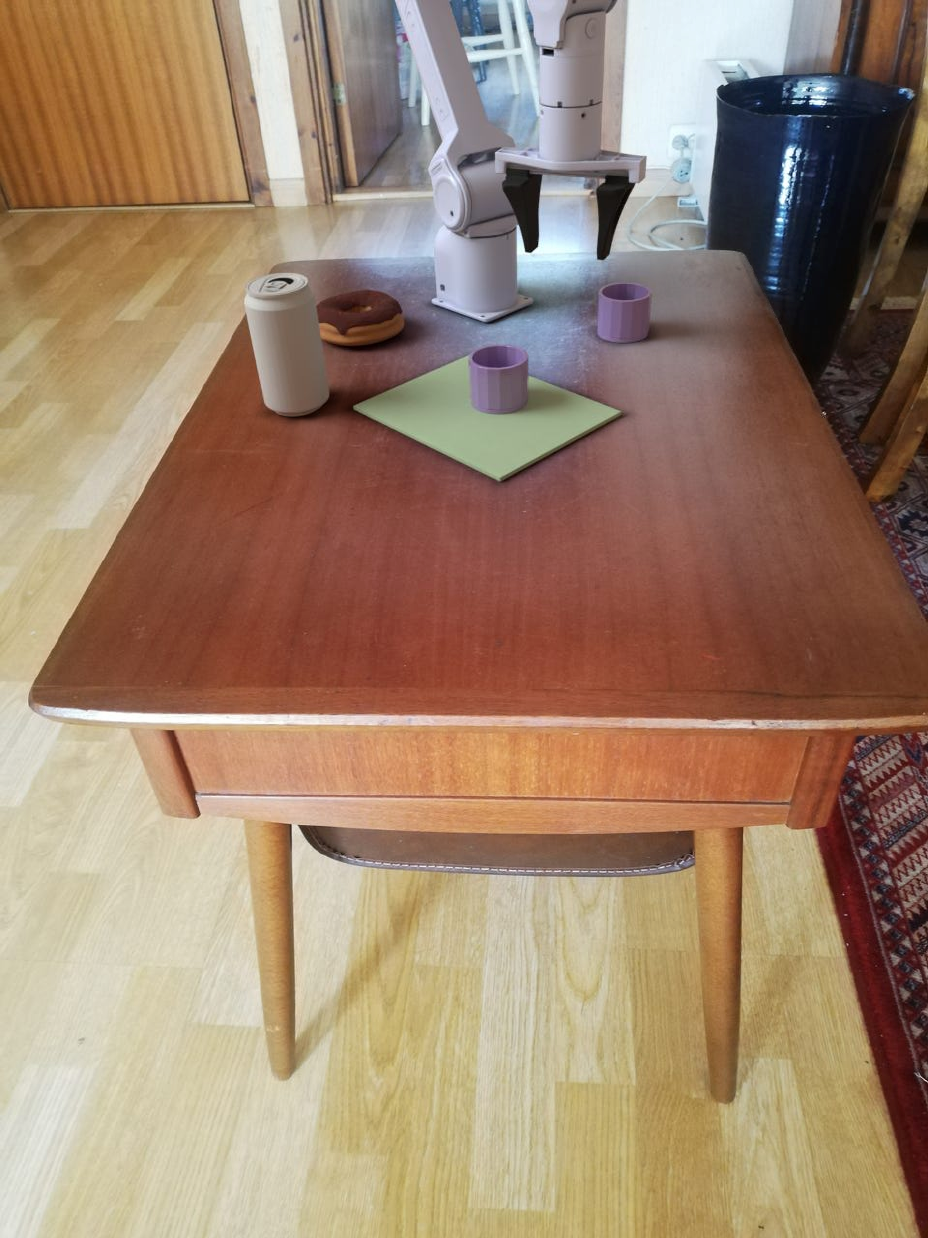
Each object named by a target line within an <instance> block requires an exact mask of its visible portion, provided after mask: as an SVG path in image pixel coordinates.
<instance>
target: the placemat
mask: <svg viewBox="0 0 928 1238" xmlns="http://www.w3.org/2000/svg"><path fill="white" fill-rule="evenodd" d="M469 355H470V354H468V355H466V356H463V357H461V358H459V359H456V360H454V361H452V362H450V363H447V364H445V365H443V366H440V367H438V368H436V369H433V370H432V371H429V372H426V373H425V374H422V375H420V376H418V377H415V378H413V379H411V380H409V381H407V382H405V383H402V384H400V385H398V386H396V387H393V388H391V389H389V390H386V391H384V392H382V393H380V394H377V395H375V396H372V397H370V398H368V399H366V400H364V401H361V402H359V403H357V404H355V405H353V407H352V408H353V410H354V411H356V412H358V413H360V414H361V415H364V416H366V417H368V418H370V419H371V420H374V421H376V422H378V423H380V424H381V425H384V426H386V427H388V428H390V429H392V430H394V431H397V432H398V433H401V434H402V435H404V436H407V437H409V438H411V439H413V440H414V441H416V442H419V443H420V444H423V445H425V446H427V447H429V448H430V449H432V450H434V451H437V452H439V453H441V454H443V455H445V456H447V457H449V458H450V459H453V460H455V461H457V462H459V463H461V464H463V465H465V466H467V467H469V468H471V469H473V470H475V471H478V472H479V473H481V474H483V475H486V476H487V477H490V478H491V479H493V480H495V481H497V482H499V483H500V482H503V481H505V480H506V479H508V478H510V477H512V476H513V475H515V474H517V473H518V472H521V471H522V470H524V469H527V468H528V467H529V466H531V465H533V464H535V463H537V462H539V461H540V460H542V459H544V458H546V457H548V456H549V455H551V454H554V452H555V453H556V452H557V451H559V450H561V449H563V448H565V446H567V445H570V444H571V443H573V442H575V441H576V440H578V439H580V438H582V437H584V436H586V435H588V434H589V433H591V432H593V431H596V430H598V429H599V428H601V427H603V426H604V425H606V424H608V423H609V422H611V421H613V420H615V419H617V418H619V417H620V416H622V411H621V410H619V409H616V408H614V407H611V406H608V405H606V404H603V403H601V402H598V401H596V400H593V399H591V398H587V397H586V396H582V395H580V394H578V393H575V392H572V391H570V390H567V389H565V388H562V387H559V386H557V385H554V384H552V383H549V382H546V381H544V380H541V379H540V378H537V377H534V376H531V375H529V374H528V379H529V395H528V403H527V404H526V406H525V407H523V408H522V409H520V410H518V411H515V412H512V413H507V414H488V413H483V412H480V411H478V410H476V409H475V408H474V407H473V406H472V405H471V399H470V387H469V366H468V357H469Z"/></svg>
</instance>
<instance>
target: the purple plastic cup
mask: <svg viewBox="0 0 928 1238" xmlns="http://www.w3.org/2000/svg"><path fill="white" fill-rule="evenodd" d="M468 355H469V357H468V366H469V387H470V399H471V405H472V406H473V407H474V408H475V409H476V410H478V411H480V412H483V413H488V414H507V413H512V412H515V411H518V410H520V409H522V408H523V407H525V406H526V404H527V403H528V395H529V379H528V375H529V354H528V352H527V350H525V349H523V348H521V347H519V346H516V345H511V344H499V343H498V344H489V345H484V346H481V347H478V348H476V349H474V350H473V351H471V352H470V353H469V354H468Z"/></svg>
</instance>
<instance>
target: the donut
mask: <svg viewBox="0 0 928 1238" xmlns="http://www.w3.org/2000/svg"><path fill="white" fill-rule="evenodd" d="M316 308H317V315H318V321H319V328H320V334H321V341H325V342H327V343H329V344H333V345H338V346H344V347H345V346H346V347H360V346H368V345H373V344H378V343H381V342H384V341H387V340H389V339H392V338H395V336H396V335H398V334H399V333H400V332H401V331H402V330H403V329H404V327H405V318H404V317H403V315H402V314H403V309H402V306H401V304H400V303H399V301H398V300H396V298H394V297H392V295H389V294H388V293H385V292H383V291H380V290H374V289H360V290H355V291H350V292H346V293H341V294H338V295H333V296H331V297H328V298H327V297H326V298H325V299H322V300H321V301H320V302H319V303H317V304H316Z"/></svg>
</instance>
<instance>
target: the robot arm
mask: <svg viewBox="0 0 928 1238" xmlns="http://www.w3.org/2000/svg"><path fill="white" fill-rule="evenodd" d="M394 2H395V5H396V8H397V11H398V14H399V17H400V21H401V23H402V26H403V29H404V32H405V35H406V38H407V41H408V44H409V46H410V47H409V48H410V50H411V53H412V56H413V58H414V62H415V65H416V67H417V70H418V73H419V76H420V79H421V83H422V85H423V88H424V91H425V94H426V97H427V100H428V103H429V106H430V109H431V113H432V116H433V119H434V122H435V124H436V128H437V130H438V133H439V136H440V139H441V143H440V145H439V147H438V149H437V150H436V152H435V153H434V155H433V157H432V158H431V161H430V164H429V165H428V168H427V169H428V170H427V171H428V174H429V177H430V180H431V186H432V193H433V194H432V196H433V197H432V198H433V204H434V208H435V211H436V214H437V216H438V219H439V220H440V221H441V223H442V226H441V227H440V228H439V230H438V231H437V234H436V236H435V239H434V243H433V257H434V259H433V260H434V275H435V287H436V289H435V290H436V297H434V298H432V299H431V304H433V305H434V306H438V307H440V308H443V309H446V310H449V311H452V312H455V313H457V314H460V315H462V316H466V317H469V318H470V319H474V320H477V321H480V322H482V323H490V322H493V321H494V320H497V319H499V318H502V317H504V316H506V315H508V314H511V313H514V312H515V311H518V310H520V309H523V308H525V307H529V306H530V305H532V304H533V303H534V298H532V297H529V296H526V295H522V294H519V293H518V227H519V232H520V235H521V239H522V243H523V248H524V253H527V254H532V253H533V252H534V251H536V250H537V248H539V242H540V199H541V189H542V181H543V176H557V177H572V178H585V179H586V178H587V179H598V180H599V179H600V180H602V179H603V180H604V182H601V184H600V185H598V186H597V187H596V188H595V189H596V191H595V194H596V195H595V196H596V203H597V219H598V221H597V222H598V223H597V224H598V225H597V226H598V228H597V240H596V260H597V261H604V260H606V259H607V258H608V257H609V256H610V255H611V250H612V245H613V244H612V243H613V240H614V236H615V233H616V229H617V227H618V224H619V222H620V218H621V216H622V213H623V211H624V208H625V207H626V204H627V203H628V200H629V198H630V196H631V194H632V192H633V190H634V189H635V187H636V184H640V183H642V181H644V179H645V178H646V175H647V174H646V172H647V159H648V158H647V157H648V156H647V155H640V154H639V155H638V154H631V153H624V152H618V151H614V150H613V151H612V150H607V149H601V135H602V133H601V132H602V112H603V111H602V110H603V109H602V108H603V90H604V89H603V88H604V61H605V39H606V20H607V19H606V18H607V17H606V15H607V14H609V13H610V12H611V11H612V10H613V9H614V7H615V6H616V4H617V2H618V0H526V3H527V7H528V9H529V12H530V15H531V18H532V21H533V38H534V39H535V44H536V45H537V46H539V87H538V88H539V92H538V95H539V97H538V99H539V104H538V106H539V108H538V110H539V113H538V119H539V120H538V121H539V122H538V126H539V127H538V131H539V132H538V138H539V139H538V144H539V145H538V146H535V147H532V146H531V147H517V146H516V144H515V140H514V138H513V137H512V136H510V135H509V134H508V133H506V132H505V131H502V130H501V129H500V128H497V127H496V126H494V125H493V124H492V123H490V122H489V119H488V117H487V113H486V110H485V107H484V103H483V100H482V98H481V93H480V92H479V88H478V86H477V83H476V79H475V76H474V73H473V70H472V67H471V64H470V61H469V57H468V55H467V52H466V49H465V45H464V42H463V40H462V36H461V33H460V30H459V27H458V24H457V21H456V18H455V14H454V12H453V9H452V6H451V3H450V0H394ZM517 226H518V227H517Z"/></svg>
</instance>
